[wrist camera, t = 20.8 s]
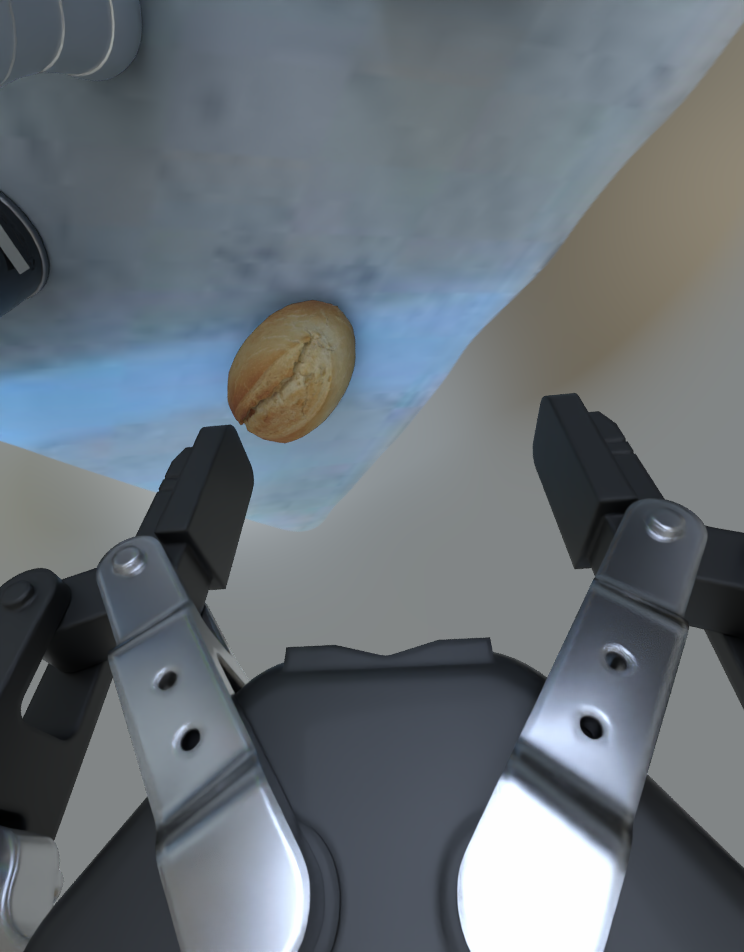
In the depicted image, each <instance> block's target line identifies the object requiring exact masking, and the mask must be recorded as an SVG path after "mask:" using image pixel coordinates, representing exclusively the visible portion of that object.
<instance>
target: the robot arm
mask: <svg viewBox="0 0 744 952" xmlns="http://www.w3.org/2000/svg"><path fill="white" fill-rule="evenodd" d="M48 274H49V263H48V257H47V254H46V250H45V248H44V245H43V243H42V241H41V238H40V237H39V235H38V233H37V231H36V230H35V228H34V227H33V225H32V224H31V222H30V221H29V220H28V218H27V217H26V216H25V215H24V214H23V212H22V211H21V210H20V209H19V208H18V207H17V206H16V205H15V204H14V203H13V202H12V201H11V200H10V199H9V198H7V197H6V196H5V195H4V194H3V193H1V192H0V317H2V316H3V315H5V314H6V313H8V312H9V311H10V310H12V309H13V308H15V307H16V306H17V305H19V304H20V303H21V302H23V301H24V300H25V299H28V298H30V297H32V296H34V295H35V294H36V293H38V292H39V291H40V290H41V289H42V288H43V287H44V285H45V283H46V281H47V278H48ZM533 459H534V464H535V467H536V470H537V472H538V475H539V478H540V480H541V483H542V485H543V488H544V491H545V493H546V496H547V498H548V501H549V504H550V506H551V509H552V511H553V514H554V517H555V519H556V522H557V524H558V527H559V530H560V532H561V535H562V538H563V540H564V543H565V545H566V548H567V551H568V553H569V556H570V558H571V561H572V564H573V566H574V569H583V568H592V570H593V573H594V575H595V578H594V579H593V581H592V583H591V586H590V588H589V590H588V592H587V594H586V596H585V598H584V601H583V603H582V605H581V607H580V609H579V611H578V614H577V615H576V618H575V620H574V622H573V624H572V626H571V628H570V631H569V632H568V635H567V637H566V639H565V641H564V643H563V645H562V647H561V650H560V652H559V654H558V656H557V658H556V660H555V662H554V664H553V667H552V669H551V671H550V673H549V675H548V677H545V676H544V675H543V674H541V673H540V672H539V671H537V670H535V669H534V668H532V667H530V666H529V665H527V664H525V663H523V662H521V661H519V660H516V659H515V658H512V657H509V656H506V655H503V654H499V653H495V652H493V651H492V646H491V640H490V637H489V638H470V639H469V638H468V639H448V640H437V641H434V642H430V643H427V644H424V645H421V646H418V647H415V648H412V649H408V650H405V651H402V652H399V653H396V654H392V655H388V656H384V655H378V654H373V653H369V652H364V651H360V650H355V649H351V648H346V647H342V646H337V645H325V646H304V647H288V648H286V654H285V661H284V663H281V664H278V665H276V666H274V667H272V668H270V669H268V670H266V671H264V672H263V673H261V674H259V675H258V676H256V677H255V678H253V679H252V680H251V681H249V679H248V677H247V676H246V674H245V673H244V671H243V670H242V668H241V667H240V665H239V663H238V662H237V660H236V658H235V656H234V654H233V652H232V651H231V649H230V647H229V645H228V643H227V641H226V639H225V637H224V635H223V634H222V632H221V630H220V628H219V626H218V624H217V622H216V620H215V618H214V617H213V615H212V613H211V611H210V609H209V607H208V606H207V604H206V603H205V600H206V597H207V593H208V590H217V589H226V585H227V581H228V578H229V574H230V571H231V567H232V563H233V560H234V556H235V552H236V549H237V545H238V542H239V538H240V534H241V531H242V527H243V523H244V520H245V516H246V512H247V509H248V505H249V501H250V498H251V494H252V490H253V485H254V476H253V470H252V466H251V464H250V461H249V459H248V457H247V454H246V452H245V450H244V447H243V445H242V443H241V440H240V438H239V436H238V433H237V431H236V429H235V428H234V426H232V425H221V426H210V427H203V428H201V430H200V431H199V434H198V436H197V438H196V440H195V442H194V445H193V447H187V448H185V449H184V450H183V451H182V452H181V453H180V454H179V455H178V456H177V457H176V458H175V459H174V460H173V461H172V462H171V465H170V467H169V469H168V471H167V473H166V475H165V479H163V481H162V483H161V485H160V487H159V492H157V493H156V496H155V497H154V500H153V502H152V504H151V506H150V508H149V510H148V512H147V514H146V516H145V518H144V520H143V522H142V524H141V526H140V528H139V530H138V532H137V534H136V536H135V537H132V538H129V539H126V540H124V541H122V542H120V543H119V544H117V545H116V546H114V547H113V548H112V549H110V550H109V551H108V552H107V553H106V554H105V555H104V557H103V558H102V559H101V561H100V562H99V564H98V566H97V568H94V569H92V570H89V571H86V572H83V573H80V574H77V575H74V576H71V577H68V578H65V579H62V580H61V579H60V578H59V577H58V576H57V575H56V574H54V573H53V572H52V571H51V570H48V569H44V568H37V569H32V570H28V571H25V572H23V573H21V574H19V575H17V576H15V577H13V578H12V579H10V580H8V581H7V582H6V583H4V584H3V585H2V586H1V587H0V952H744V868H743V867H742V866H741V865H740V864H739V863H738V862H737V861H736V860H735V859H734V858H733V857H732V856H731V855H730V854H729V853H728V852H727V851H726V850H725V849H724V848H723V847H722V846H721V845H720V844H719V843H718V842H717V841H715V840H714V839H713V838H712V837H711V836H710V835H709V834H708V833H707V832H706V831H705V830H704V829H703V828H702V827H701V826H700V825H699V824H698V823H697V822H696V821H695V820H694V819H693V818H692V817H691V816H690V815H689V814H687V812H686V811H685V810H684V809H683V808H681V807H680V806H679V805H678V804H677V803H676V802H675V801H674V800H673V799H672V798H671V797H670V796H669V795H668V794H667V793H666V792H665V791H664V790H663V789H662V788H661V787H660V786H659V785H658V784H657V783H656V782H655V781H654V780H653V779H652V778H651V777H650V776H649V775H647V773H648V769H649V766H650V763H651V759H652V755H653V752H654V749H655V745H656V742H657V738H658V734H659V732H660V728H661V725H662V721H663V717H664V714H665V711H666V707H667V704H668V700H669V697H670V694H671V690H672V687H673V683H674V679H675V676H676V673H677V669H678V666H679V663H680V659H681V656H682V652H683V649H684V645H685V642H686V638H687V635H688V630H689V626H692V627H697V628H701V629H704V630H705V632H706V634H707V636H708V638H709V640H710V642H711V644H712V646H713V648H714V650H715V652H716V654H717V656H718V658H719V660H720V662H721V664H722V667H723V668H724V671H725V673H726V675H727V676H728V679H729V681H730V683H731V685H732V687H733V689H734V691H735V692H736V695H737V697H738V699H739V701H740V703H741V705H742V707H743V709H744V533H742V532H736V531H730V530H724V529H718V528H713V527H708V526H705V525H704V523H703V522H702V521H701V519H700V518H699V517H698V516H697V515H696V514H695V513H693V512H692V511H691V510H689V509H688V508H686V507H684V506H682V505H680V504H677V503H675V502H672V501H669V500H665V499H664V498H663V496H662V494H661V493H660V491H659V490H658V488H657V487H656V485H655V484H654V482H653V480H652V479H651V477H650V476H649V474H648V473H647V471H646V469H645V468H644V467H643V465H642V463H641V462H640V460H639V459H638V457H637V455H636V454H634V453H633V449H632V448H631V446H630V445H629V443H628V442H626V440H625V437H624V435H623V434H622V432H621V431H620V429H619V428H618V426H617V424H616V423H614V422H613V421H612V420H610V419H609V418H608V417H606V416H605V415H603V414H602V413H601V412H599V411H597V412H588V411H587V409H586V407H585V406H584V404H583V402H582V401H581V399H580V397H579V396H578V395H577V394H576V393H571V394H560V395H549V396H544V397H543V398H542V400H541V404H540V408H539V414H538V419H537V425H536V430H535V436H534V441H533ZM42 659H43V660H45V661H46V662H48V663H49V664H48V666H47V668H46V670H45V672H44V674H43V676H42V679H41V681H40V683H39V685H38V687H37V689H36V692H35V693H34V696H33V698H32V700H31V702H30V704H29V706H28V708H27V710H26V713H25V715H24V717H23V719H22V716H21V704H22V700H23V698H24V695H25V693H26V691H27V689H28V687H29V685H30V683H31V681H32V679H33V677H34V675H35V672H36V671H37V669H38V666H39V664H40V662H41V660H42ZM112 678H113V679H114V683H115V686H116V690H117V693H118V696H119V700H120V703H121V707H122V710H123V714H124V717H125V720H126V724H127V727H128V731H129V734H130V738H131V741H132V744H133V748H134V751H135V755H136V758H137V762H138V765H139V769H140V772H141V775H142V779H143V782H144V786H145V789H146V793H147V798H146V799H145V800H144V801H143V802H142V803H141V805H140V806H139V807H138V808H137V809H136V810H135V812H134V813H133V814H132V815H131V816H130V817H129V819H128V820H127V821H126V822H125V823H124V825H123V826H122V827H121V828H120V829H119V830H118V832H117V833H116V834H115V835H114V836H113V837H112V838H111V840H110V841H109V842H108V843H107V844H106V845H105V847H104V848H103V849H102V850H101V851H100V853H99V854H98V855H97V856H96V857H95V858H94V859H93V861H92V862H91V863H90V864H89V865H88V867H87V868H86V869H85V870H84V871H83V872H82V874H81V875H80V876H79V877H78V878H77V879H76V881H75V882H74V883H73V884H72V885H71V886H70V888H69V889H68V890H67V891H66V892H65V893H64V895H63V896H62V897H61V898H60V899H59V900H58V902H57V903H56V904H55V905H54V906H53V904H54V903H55V901H56V900H57V898H58V897H59V895H60V892H61V890H62V887H63V874H62V872H61V871H60V870H59V864H60V858H59V851H58V848H57V846H56V843H55V842H54V840H55V837H56V834H57V831H58V828H59V825H60V823H61V820H62V817H63V815H64V812H65V809H66V806H67V803H68V801H69V798H70V795H71V792H72V789H73V787H74V784H75V781H76V778H77V775H78V773H79V770H80V767H81V764H82V762H83V759H84V756H85V753H86V750H87V748H88V745H89V742H90V739H91V737H92V734H93V731H94V728H95V725H96V723H97V720H98V717H99V714H100V712H101V709H102V706H103V703H104V700H105V698H106V695H107V692H108V689H109V686H110V683H111V681H112Z"/></svg>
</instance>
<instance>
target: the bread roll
mask: <svg viewBox="0 0 744 952" xmlns="http://www.w3.org/2000/svg"><path fill="white" fill-rule="evenodd" d="M354 365H355V336H354V332H353V327H352V325H351V324H350V322H349V320H348V319H347V318H346V316H345V315H344V313H343V312H342V311H341V310H340V309H339V308H338V306H333V305H332V304H329V303H325V302H321V301H315V300H310V301H304V302H299V303H294V304H291V305H288V306H286V307H284V308H283V309H281V310H278V311H276V312H275V313H273V314H272V315H270V316H269V317H268V318H267V319H266V320H265V321H264V322H263V323H261V324H260V325H259V326H258V327H257V328H256V329H255V330H254V331H253V332H252V334H251V335H250V336H249V337H248V338H247V339H246V340H245V342H244V343H243V345H242V346H241V347H240V349H239V351H238V353H237V355H236V356H235V358H234V361H233V363H232V365H231V368H230V371H229V376H228V403H229V407H230V409H231V411H232V413H233V415H234V417H235V419H236V420H237V421H238V422H239V424H240V425H242V424H243V423H245V425H246V427H247V430H248V431H249V432H251V433H253V434H255V435H256V436H258V437H260V438H262V439H265V440H269V441H274V442H279V443H287V442H291V441H294V440H297V439H299V438H301V437H303V436H305V435H307V434H308V433H310V432H311V431H312V430H314V429H315V428H317V427H318V426H319V425H320V424H321V423H323V422H324V421H325V420H326V419H327V417H328V416H329V415H330V414H331V413H332V411H333V410H334V409H335V407H336V406H337V405H338V403H339V401H340V400H341V398H342V397H343V395H344V393H345V391H346V389H347V387H348V385H349V382H350V379H351V376H352V373H353V369H354Z"/></svg>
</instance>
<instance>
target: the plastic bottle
mask: <svg viewBox="0 0 744 952" xmlns="http://www.w3.org/2000/svg"><path fill="white" fill-rule="evenodd" d="M141 36H142V15H141V7H140V2H139V0H0V88H1V87H3V86H5V85H7V84H9V83H11V82H13V81H15V80H17V79H19V78H22V77H26V76H30V75H33V74H38V73H42V72H48V73H62V74H65V75H68V76H71V77H75V78H79V79H84V80H90V81H104V80H108V79H112V78H113V77H115V76H117V75H118V74H120V73H121V72H122V71H123V70H125V69H126V68H127V67H128V66H129V65H130V63H131V62H132V61H133V60H134V58H135V56H136V54H137V52H138V50H139V46H140V42H141Z"/></svg>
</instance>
